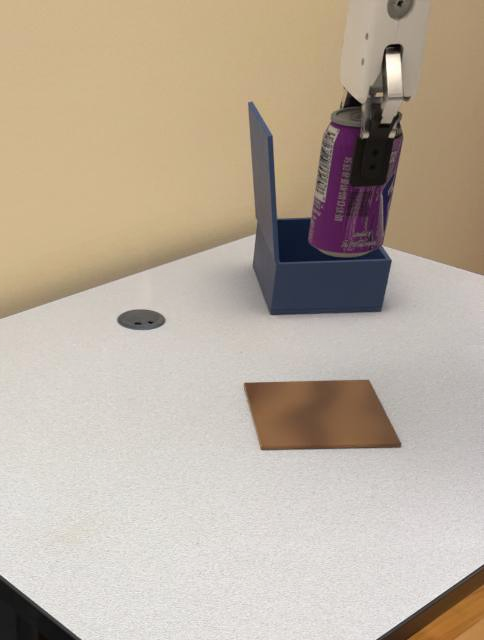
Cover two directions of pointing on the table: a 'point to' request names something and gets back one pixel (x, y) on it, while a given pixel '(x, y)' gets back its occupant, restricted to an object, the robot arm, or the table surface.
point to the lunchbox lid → (264, 179)
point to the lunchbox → (317, 274)
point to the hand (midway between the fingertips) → (357, 171)
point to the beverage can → (349, 192)
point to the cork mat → (319, 415)
